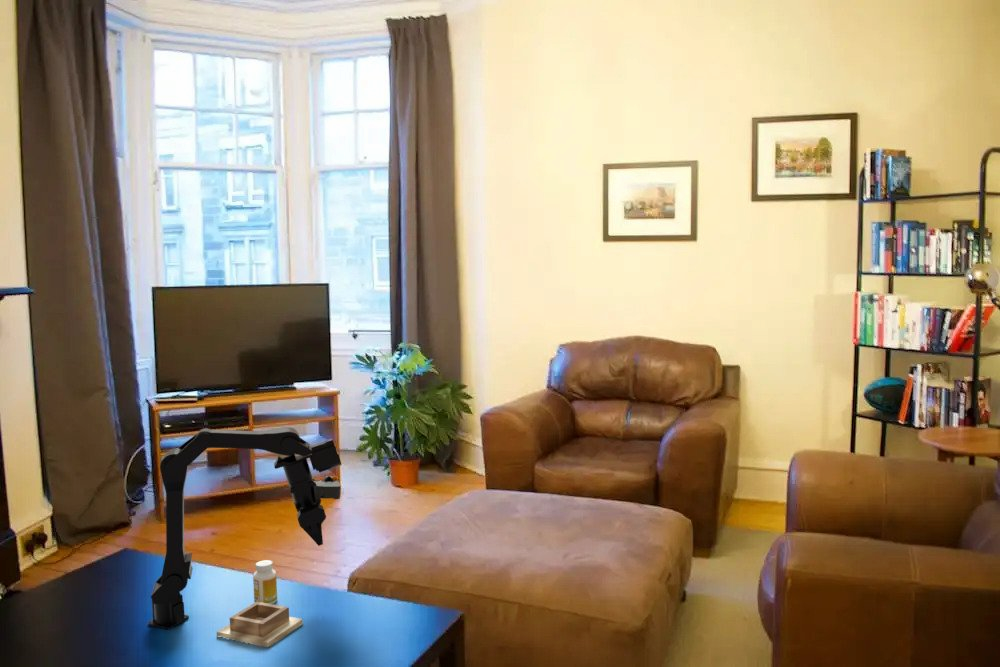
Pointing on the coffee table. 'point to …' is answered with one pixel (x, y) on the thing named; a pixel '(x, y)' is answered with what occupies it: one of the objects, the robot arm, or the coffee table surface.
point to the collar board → (260, 624)
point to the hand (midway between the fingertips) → (319, 538)
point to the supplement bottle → (265, 582)
